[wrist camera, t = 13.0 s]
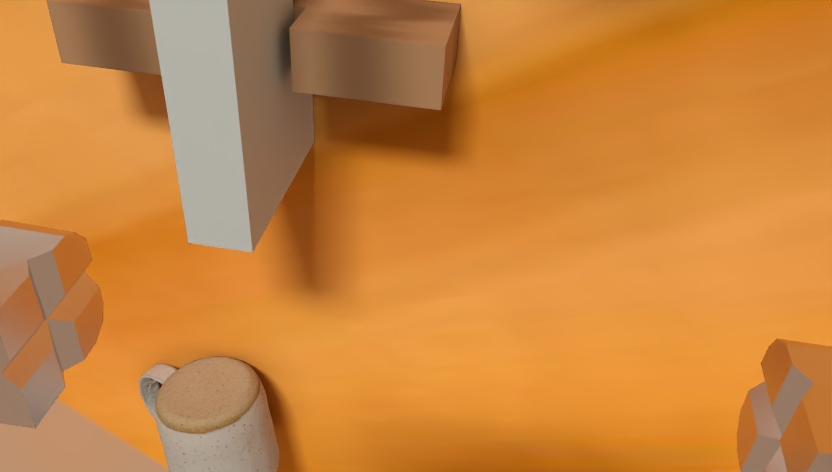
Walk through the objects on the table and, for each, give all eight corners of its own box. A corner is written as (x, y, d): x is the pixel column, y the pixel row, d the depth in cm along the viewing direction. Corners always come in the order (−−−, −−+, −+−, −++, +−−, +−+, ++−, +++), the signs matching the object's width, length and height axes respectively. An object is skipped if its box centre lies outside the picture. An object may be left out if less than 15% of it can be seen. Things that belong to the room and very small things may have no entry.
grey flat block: (238, -142, 35) (136, -81, 27) (304, -136, 34) (219, -72, 27) (261, 134, 43) (188, 242, 35) (314, 141, 43) (252, 252, 35)
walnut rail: (460, 4, 37) (445, 46, 33) (455, 63, 39) (440, 110, 35) (101, -36, 39) (46, 0, 35) (112, 22, 41) (61, 62, 37)
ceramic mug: (276, 352, 54) (234, 441, 48) (295, 431, 58) (258, 521, 52) (134, 339, 56) (77, 423, 50) (164, 416, 60) (115, 501, 54)
